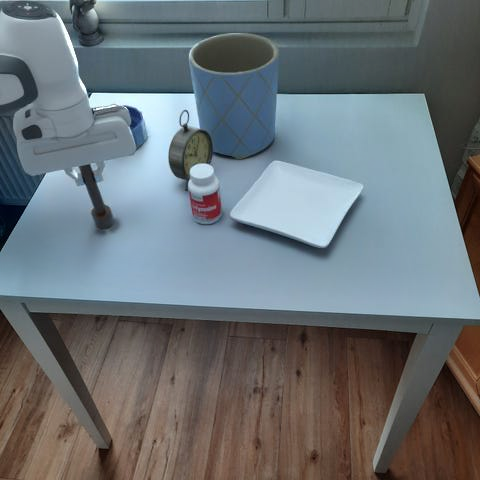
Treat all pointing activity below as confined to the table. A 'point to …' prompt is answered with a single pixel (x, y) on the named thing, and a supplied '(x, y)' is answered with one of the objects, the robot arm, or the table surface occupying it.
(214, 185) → the pill bottle
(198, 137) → the alarm clock
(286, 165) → the salad plate
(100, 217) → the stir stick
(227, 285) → the table surface
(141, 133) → the bowl
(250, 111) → the planter
